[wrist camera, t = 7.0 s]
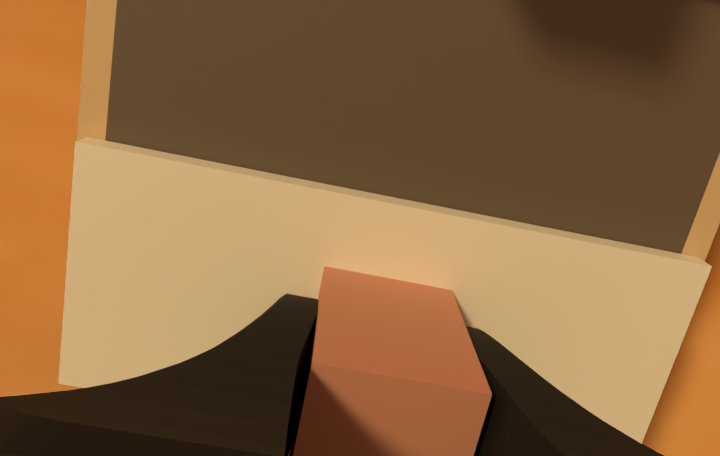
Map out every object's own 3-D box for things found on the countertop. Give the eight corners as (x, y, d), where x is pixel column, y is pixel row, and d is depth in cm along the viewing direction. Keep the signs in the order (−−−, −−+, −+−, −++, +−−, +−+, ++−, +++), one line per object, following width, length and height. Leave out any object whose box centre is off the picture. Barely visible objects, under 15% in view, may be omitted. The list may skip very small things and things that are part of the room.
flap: (617, 464, 13) (725, 638, 9) (70, 370, 12) (-57, 518, 9) (697, 257, 12) (862, 361, 8) (87, 137, 11) (-55, 189, 7)
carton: (565, 367, 17) (625, 462, 13) (130, 288, 16) (60, 365, 12) (692, -11, 14) (818, -29, 10) (172, -130, 13) (100, -197, 10)
